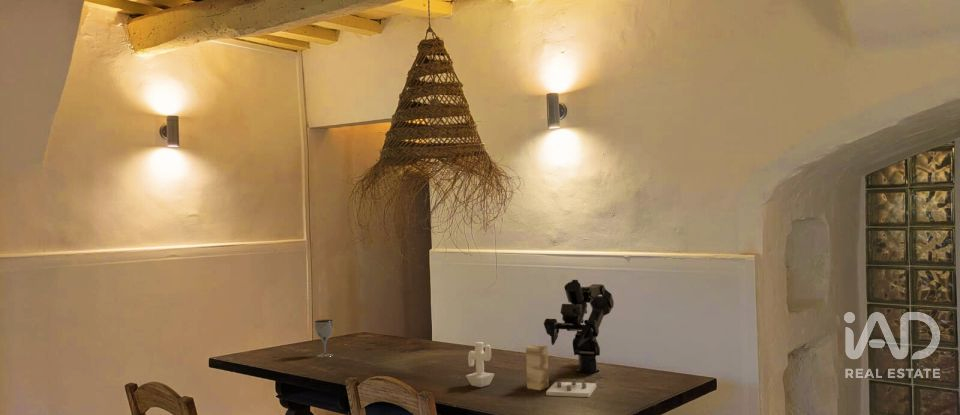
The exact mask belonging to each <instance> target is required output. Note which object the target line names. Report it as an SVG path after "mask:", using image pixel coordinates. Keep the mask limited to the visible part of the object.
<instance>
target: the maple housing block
mask: <svg viewBox="0 0 960 415" xmlns="http://www.w3.org/2000/svg"><path fill="white" fill-rule="evenodd" d="M548 355H549V353H548V346H547V345H543V344H542V345H541V344H533V345H532V344H531V345H529V346H525V361H526V364H525V365H526V367H525V368H526V389H528V390H536V391H541V390H544V389H547V388H548V389H549V388H550V385H549V357H548Z"/></svg>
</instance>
